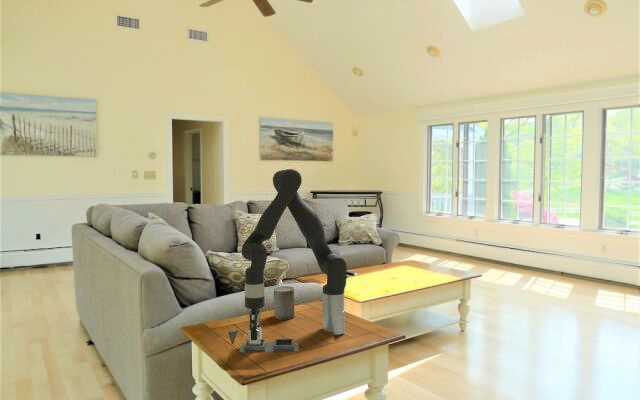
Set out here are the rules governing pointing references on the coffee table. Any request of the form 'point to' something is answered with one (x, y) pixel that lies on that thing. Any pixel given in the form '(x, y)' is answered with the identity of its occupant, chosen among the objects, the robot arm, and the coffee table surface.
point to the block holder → (271, 346)
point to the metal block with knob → (259, 338)
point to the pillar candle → (284, 302)
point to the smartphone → (233, 335)
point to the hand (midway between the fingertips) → (255, 336)
